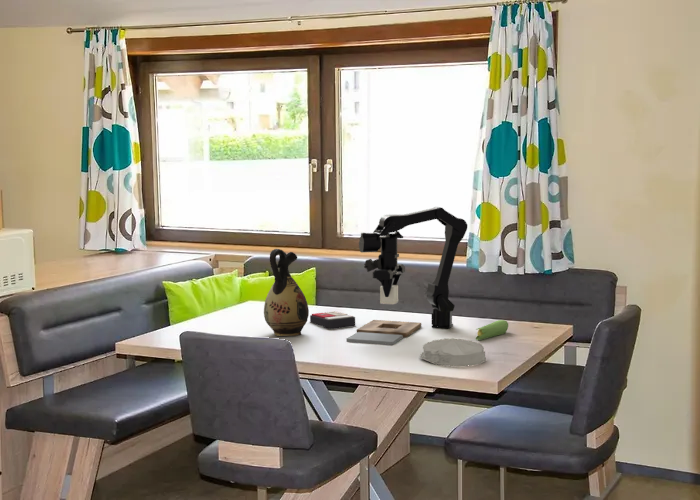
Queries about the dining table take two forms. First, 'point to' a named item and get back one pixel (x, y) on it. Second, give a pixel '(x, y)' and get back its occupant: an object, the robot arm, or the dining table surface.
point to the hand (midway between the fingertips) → (389, 295)
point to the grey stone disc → (453, 352)
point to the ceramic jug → (285, 298)
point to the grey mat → (374, 338)
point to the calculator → (332, 320)
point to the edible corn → (492, 329)
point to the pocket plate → (386, 326)
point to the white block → (389, 295)
